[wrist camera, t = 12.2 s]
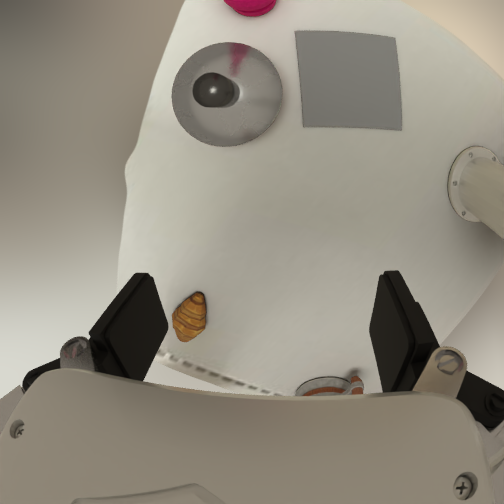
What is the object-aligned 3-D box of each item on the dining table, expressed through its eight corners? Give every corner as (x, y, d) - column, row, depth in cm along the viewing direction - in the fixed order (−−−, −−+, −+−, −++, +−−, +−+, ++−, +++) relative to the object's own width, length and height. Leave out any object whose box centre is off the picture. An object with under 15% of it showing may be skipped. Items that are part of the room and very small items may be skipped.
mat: (394, 38, 26) (395, 37, 26) (400, 130, 33) (401, 130, 32) (294, 31, 28) (294, 30, 28) (303, 126, 35) (303, 126, 35)
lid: (277, 39, 26) (273, 21, 19) (286, 141, 32) (285, 149, 25) (171, 55, 28) (144, 45, 21) (181, 150, 34) (157, 161, 27)
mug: (284, 397, 63) (280, 449, 50) (334, 355, 54) (339, 417, 41) (328, 411, 65) (329, 459, 52) (380, 373, 56) (390, 428, 43)
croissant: (184, 282, 50) (174, 298, 46) (218, 297, 51) (212, 315, 46) (169, 328, 56) (160, 345, 52) (198, 341, 57) (192, 358, 53)
